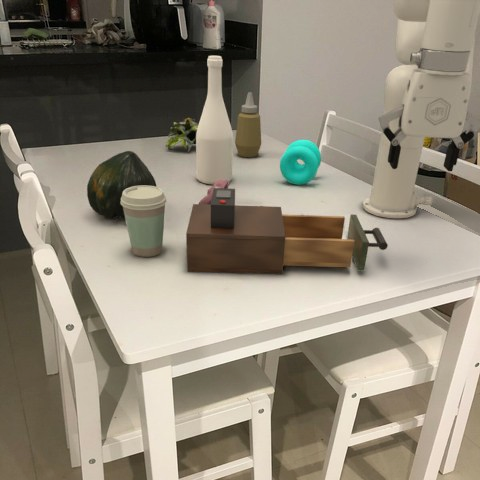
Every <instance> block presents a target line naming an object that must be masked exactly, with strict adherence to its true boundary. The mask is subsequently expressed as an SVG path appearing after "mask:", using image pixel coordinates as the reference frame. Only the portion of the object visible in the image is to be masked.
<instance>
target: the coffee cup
mask: <svg viewBox="0 0 480 480" xmlns="http://www.w3.org/2000/svg"><path fill="white" fill-rule="evenodd" d="M167 202H168V201H167V197H166V195H165V193H164V190H163V189H162V188H161V187H159V186H157V187H155V186H147V185H141V186H133V187H129V188H127V189H125V190H124V191H123V193H122V197H121V202H120V203H121V205H122V206H123V210H124V215H125V218H124V219H125V224H126V228H127V229H126V230H127V233H128V238H129V242H130V247H131V251H132V254H133V255H135V256H137V257H141V258H150V257H155V256H158V255H160V254H162V252H163V242H164V228H165V226H164V225H165V214H166V213H165V210H166V204H167Z"/></svg>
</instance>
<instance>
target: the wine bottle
mask: <svg viewBox="0 0 480 480" xmlns="http://www.w3.org/2000/svg"><path fill="white" fill-rule="evenodd" d="M206 60H207V61H206V63H207V64H206V65H207V68H208V69H207V70H208V71H207V94H206V99H205V102H204V105H203V109H202V112H201V116H200V119H199V122H198V129H197V133H196V144H195V157H196V159H195V160H196V161H195V162H196V178H197V180H198V181H199V182H201V184H205V185H211V186H213V185H214V183H215V182H216V181H218V180H221V179H223V180H227V181H228V182H229V183H230V182H231V180H232V179H233V165H234V163H233V159H234V155H233V154H234V133H233V129H232V125H231V122H230V118H229V116H228V115H229V114H228V112H227V108H226V104H225V102H224V97H223V89H222V88H223V84H222V83H223V82H222V81H223V79H222V77H223V76H222V68H223V63H224V62H223V58H222V56H221V55H208V57H207V59H206Z"/></svg>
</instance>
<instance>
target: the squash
mask: <svg viewBox="0 0 480 480" xmlns="http://www.w3.org/2000/svg"><path fill="white" fill-rule="evenodd" d="M141 185H147V186H155V187H158V186H157V183H156V179H155V177H154V176H153V174H152V172H151V171H150V169H149V168H148V167H147V165H146V164H145V163H144V161H143V160H142V159H141V158H140V157H139V155H138V154H137V153H135V152H134V151H132V150H126V151H123V152H119V153H117V154H115V155H113V156H111V157H109V158H108V159H106V160H104V161H103V162H101V163H99V164H98V165H97V166H96V168H94V170H93V172H92V173H91V175H90V176H89V180H88V182H87V186H86V196H87V200H88V204H89V206H90V207H91V209H92V210H93V211H94V213H96V214H98V215H100V216H102V217H104V218H106V219H116V218H118V217H119V218H120V219H125V215H124V210H123V206H122V205H121V203H120V202H121V197H122V193H123V191H124V190H125V189H127V188H129V187H133V186H141Z"/></svg>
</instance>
